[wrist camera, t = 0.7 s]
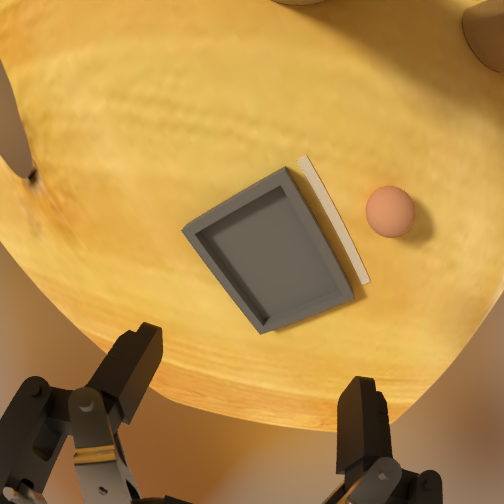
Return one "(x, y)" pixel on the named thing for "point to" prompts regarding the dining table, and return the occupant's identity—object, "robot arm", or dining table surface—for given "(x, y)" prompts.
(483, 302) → the dining table surface
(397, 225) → the ball
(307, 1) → the potted cactus
